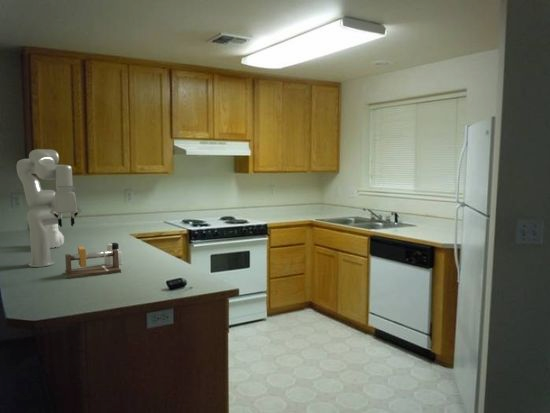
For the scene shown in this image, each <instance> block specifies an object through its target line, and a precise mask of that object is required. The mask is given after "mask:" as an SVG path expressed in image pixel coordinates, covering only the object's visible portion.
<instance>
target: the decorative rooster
mask: <svg viewBox="0 0 550 413" xmlns="http://www.w3.org/2000/svg"><path fill="white" fill-rule="evenodd" d="M44 227H45V228H46V229H47V230H48V232H49V238H50V249H56V248H60V247H61V246H63V245H64V242H65V236H64V235H63V233H62V232H61V231H60V229H59V225H58V224H52V225H45V226H44ZM55 247H56V248H55Z"/></svg>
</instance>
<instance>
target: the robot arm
mask: <svg viewBox="0 0 550 413" xmlns="http://www.w3.org/2000/svg"><path fill="white" fill-rule="evenodd" d="M59 161H60V156H59V153H58V151H56V150H55V149H45V148H43V149H41V148H38V149H33V150H31V151H30V152H29V154H28V158H23V159H22V158H21V159H20V160H18V161H16V162H17V163H16V173H17V176H18V178H19V179H20V182H21V183H22V186H23V191H24V195H25V200H26V203H27V205H28V206H29V207H30V208H33V209H30V210H29V211H28V212H27V214H26V219H27V224H28V228H29V237H30V239H29V240H30V253H31V255H30V256H31V262H29V263H28V267H30V268H41V267H42V268H43V267H49V266H52V265H54V264H55V262H54V261H53V260H52V257H51V248H50V238H49V232H48V230H47V229H46V228H45V227H44V226H45V225H52V224H58V226H59V227H60V228H62V227H63V224H62V221H63V213H64V214H65V213H69V214H70V215H71V218H70V226H71V227H73V226H74V225H75V218H76V217H77V216H78V215H79V214H80V213H81V212H82V209H80V207H79V206H78V205H77V197H76V193H75V192H74V191H76V190H77V187H76V186H73V185H74V182H73V169H72V165H69V164H68V165H67V164H58V163H59ZM33 174H34V175H33ZM35 175H36V176H37V177H38V178H39V179H41V180H44V181H45V180H46V181H51V180H52V181H53V180H55V187H56V191H55V190H53V189H42V186H41V182H40V180H38V179H37V177H36V176H35Z"/></svg>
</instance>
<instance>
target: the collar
mask: <svg viewBox="0 0 550 413" xmlns="http://www.w3.org/2000/svg"><path fill="white" fill-rule="evenodd" d="M86 253H87V252H86V248H85V247H84V246H77V254H80V260H78V265H79V266H80V268H85V267H87V259H86Z"/></svg>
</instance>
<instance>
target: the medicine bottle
mask: <svg viewBox="0 0 550 413" xmlns="http://www.w3.org/2000/svg"><path fill="white" fill-rule="evenodd" d="M112 250H118V259H119V266H120V265H123V252H122V251H119V250H120V249H119V243H118V242H109V243H107V245H106V251H112ZM112 264H113V256H111V257H104V265H112Z"/></svg>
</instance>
